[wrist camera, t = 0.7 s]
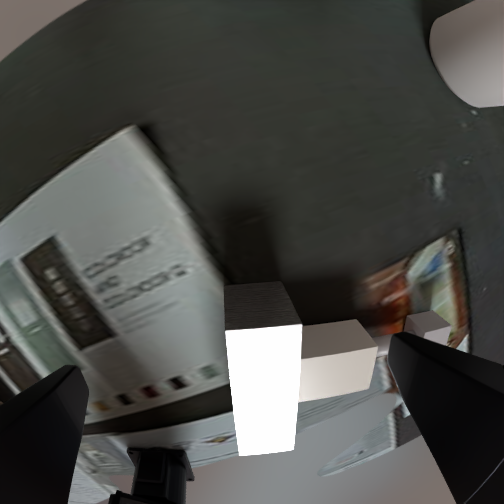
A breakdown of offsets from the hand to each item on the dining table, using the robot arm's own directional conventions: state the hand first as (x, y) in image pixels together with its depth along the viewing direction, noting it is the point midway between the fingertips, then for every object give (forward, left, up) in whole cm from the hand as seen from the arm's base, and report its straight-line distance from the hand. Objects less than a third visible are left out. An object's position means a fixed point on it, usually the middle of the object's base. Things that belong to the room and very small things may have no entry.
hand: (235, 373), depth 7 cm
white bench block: (-9, -2, -13) cm, 16 cm away
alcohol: (+15, -21, -13) cm, 29 cm away
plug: (-9, -6, -13) cm, 17 cm away
